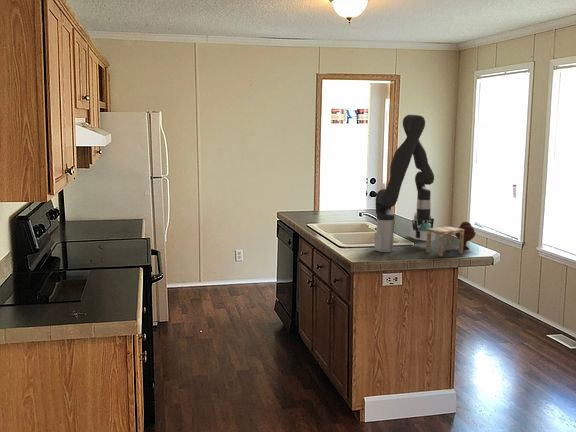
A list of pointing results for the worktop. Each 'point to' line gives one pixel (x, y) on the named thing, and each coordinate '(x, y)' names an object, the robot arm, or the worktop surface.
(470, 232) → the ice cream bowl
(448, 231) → the beige wooden stool
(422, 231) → the white and teal block
